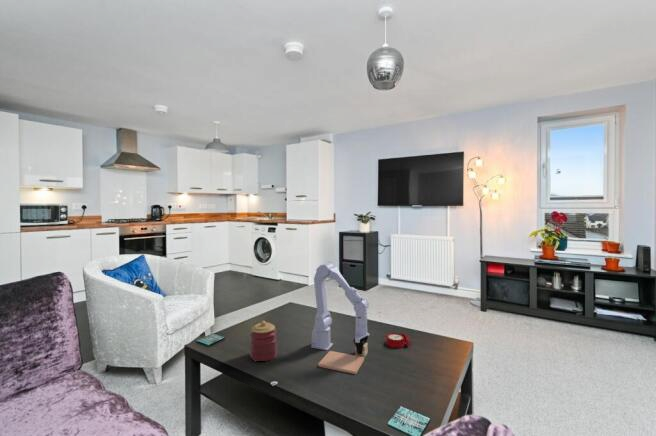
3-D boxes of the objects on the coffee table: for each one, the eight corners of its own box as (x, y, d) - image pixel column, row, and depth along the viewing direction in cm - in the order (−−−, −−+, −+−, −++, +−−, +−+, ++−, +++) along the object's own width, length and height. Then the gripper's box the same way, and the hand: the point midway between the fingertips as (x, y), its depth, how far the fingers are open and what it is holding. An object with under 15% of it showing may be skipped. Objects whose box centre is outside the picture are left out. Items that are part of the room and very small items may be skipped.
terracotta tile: (318, 366, 143) (318, 363, 143) (329, 353, 156) (329, 350, 156) (355, 374, 136) (355, 371, 136) (364, 359, 149) (364, 357, 149)
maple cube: (355, 355, 153) (355, 345, 153) (358, 351, 158) (358, 341, 158) (364, 357, 151) (364, 347, 151) (367, 352, 156) (367, 342, 156)
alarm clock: (381, 333, 171) (407, 326, 172) (383, 344, 171) (409, 337, 172) (386, 341, 160) (413, 334, 161) (388, 353, 161) (416, 346, 162)
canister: (282, 355, 153) (282, 320, 153) (260, 365, 144) (259, 328, 143) (266, 347, 162) (266, 314, 162) (244, 356, 153) (244, 321, 152)
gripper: (365, 330, 146) (365, 359, 146) (372, 320, 159) (372, 346, 160) (350, 328, 148) (350, 356, 149) (359, 318, 162) (359, 344, 162)
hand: (361, 351), depth 154 cm, fingers closed on maple cube, 5 cm apart
